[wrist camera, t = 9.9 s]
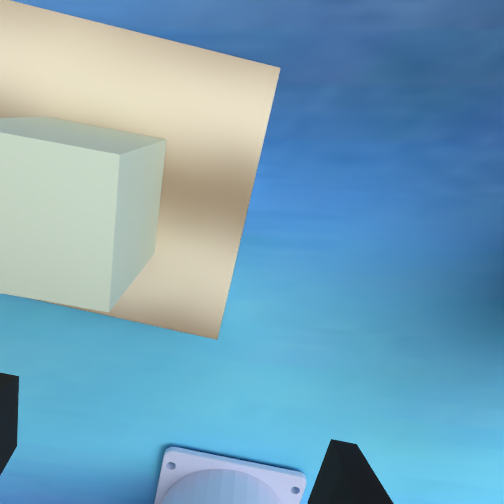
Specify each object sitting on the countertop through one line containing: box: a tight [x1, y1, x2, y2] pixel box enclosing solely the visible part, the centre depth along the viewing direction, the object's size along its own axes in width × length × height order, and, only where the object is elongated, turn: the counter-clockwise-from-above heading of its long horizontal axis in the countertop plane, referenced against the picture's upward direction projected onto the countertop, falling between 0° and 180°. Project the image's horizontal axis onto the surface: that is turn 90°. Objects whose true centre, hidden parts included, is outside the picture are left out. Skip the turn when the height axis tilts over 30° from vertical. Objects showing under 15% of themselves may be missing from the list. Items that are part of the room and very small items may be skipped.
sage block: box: [0, 116, 167, 312], centre depth 13 cm, size 4×4×5 cm
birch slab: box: [0, 0, 280, 339], centre depth 17 cm, size 11×11×3 cm
